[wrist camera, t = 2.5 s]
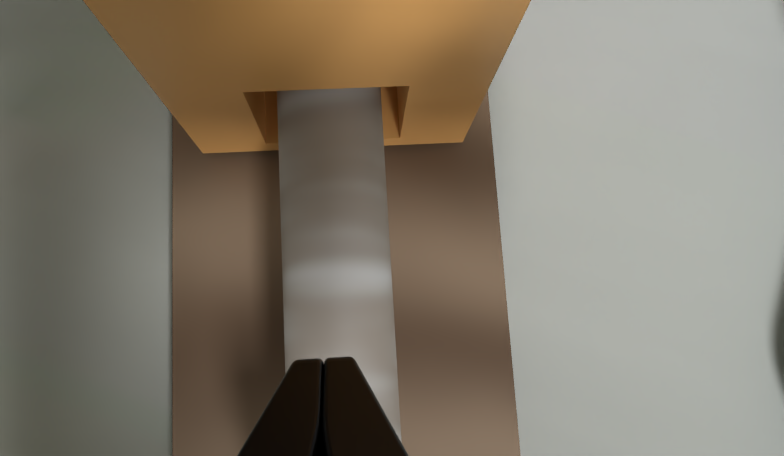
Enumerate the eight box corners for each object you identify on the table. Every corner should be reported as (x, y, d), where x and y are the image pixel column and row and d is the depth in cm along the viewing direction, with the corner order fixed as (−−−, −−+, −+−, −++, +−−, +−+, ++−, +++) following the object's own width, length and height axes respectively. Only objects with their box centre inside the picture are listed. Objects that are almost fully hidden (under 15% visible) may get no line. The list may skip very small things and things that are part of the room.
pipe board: (520, 541, 20) (593, 626, 14) (181, 567, 20) (97, 668, 13) (458, -167, 25) (492, -345, 18) (180, -162, 24) (116, -345, 18)
